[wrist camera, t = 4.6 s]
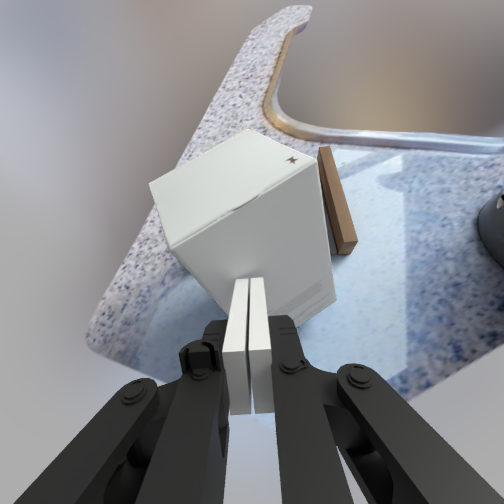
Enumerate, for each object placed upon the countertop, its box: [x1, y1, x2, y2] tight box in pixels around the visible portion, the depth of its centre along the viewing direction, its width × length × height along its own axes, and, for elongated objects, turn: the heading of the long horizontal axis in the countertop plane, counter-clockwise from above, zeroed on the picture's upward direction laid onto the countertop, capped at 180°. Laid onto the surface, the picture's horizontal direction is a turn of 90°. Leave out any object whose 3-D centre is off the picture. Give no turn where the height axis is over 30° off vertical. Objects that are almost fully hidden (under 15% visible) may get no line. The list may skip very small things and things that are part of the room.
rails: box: [317, 146, 358, 255], centre depth 31 cm, size 18×16×3 cm
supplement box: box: [148, 128, 336, 328], centre depth 20 cm, size 9×9×15 cm
